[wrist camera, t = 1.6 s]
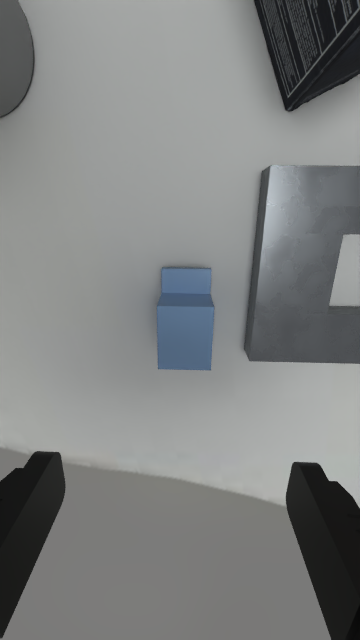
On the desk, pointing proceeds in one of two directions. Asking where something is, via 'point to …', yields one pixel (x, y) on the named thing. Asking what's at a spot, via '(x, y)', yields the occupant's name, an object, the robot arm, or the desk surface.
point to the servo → (185, 319)
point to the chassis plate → (302, 266)
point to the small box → (311, 45)
